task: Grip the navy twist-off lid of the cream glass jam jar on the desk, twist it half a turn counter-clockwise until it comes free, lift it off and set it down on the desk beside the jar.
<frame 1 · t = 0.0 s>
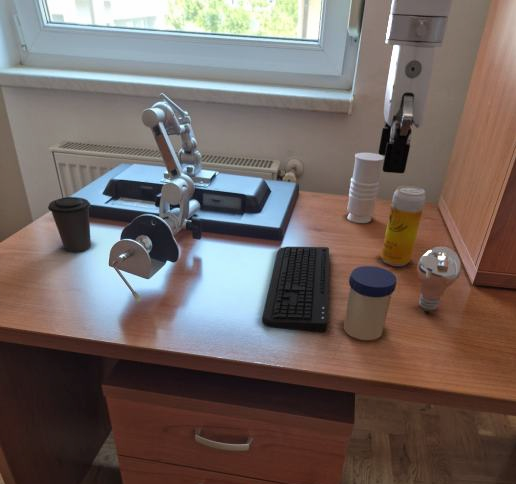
hand: (390, 163, 74), 24 cm above the table, tool pointing down, fingers open, 9 cm apart
keyboard: (298, 286, 90), on the table
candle: (358, 219, 120), on the table
lid: (373, 278, 73), point 9 cm above the table, screwed on, not yet turned
coffee cup: (77, 247, 101), on the table
light bulb: (426, 311, 85), on the table
yellow bottle: (394, 261, 101), on the table
jar: (363, 329, 79), on the table
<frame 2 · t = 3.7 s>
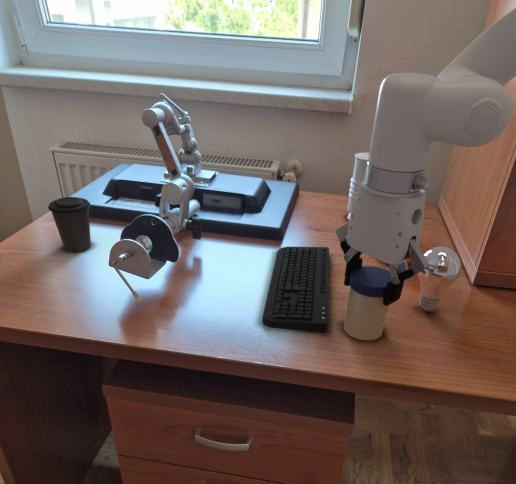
hand: (370, 291, 75), 7 cm above the table, tool pointing down, fingers closed on lid, 7 cm apart
lid: (373, 278, 73), point 9 cm above the table, screwed on, not yet turned, touching gripper
everything else where it was.
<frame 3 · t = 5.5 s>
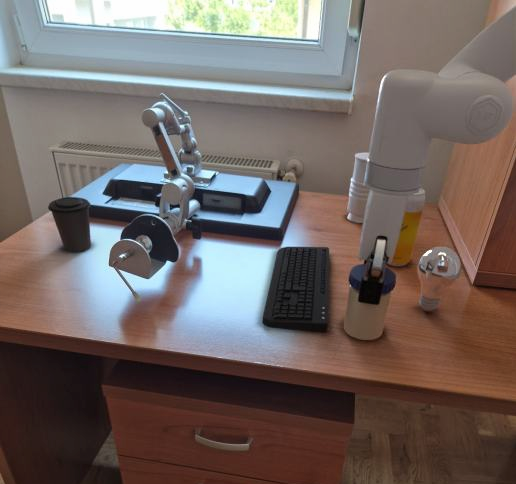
hand: (369, 289, 75), 7 cm above the table, tool pointing down, fingers closed on lid, 7 cm apart
lid: (372, 276, 73), point 10 cm above the table, turned 125° so far, risen 0.4 cm, still on its thread, touching gripper
everything else where it was.
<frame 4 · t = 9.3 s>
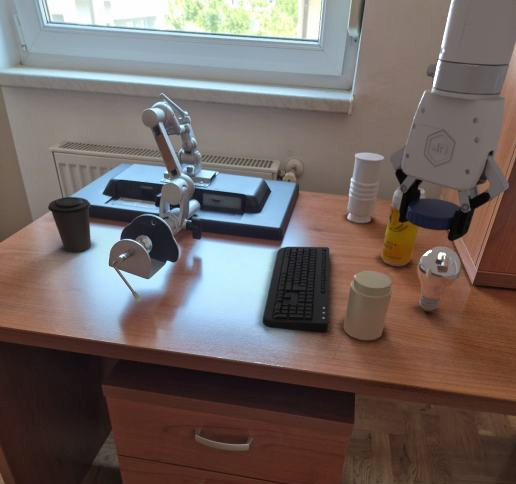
hand: (430, 228, 65), 20 cm above the table, tool pointing down, fingers closed on lid, 7 cm apart
lid: (434, 210, 63), point 22 cm above the table, off its thread, touching gripper
everything else where it was.
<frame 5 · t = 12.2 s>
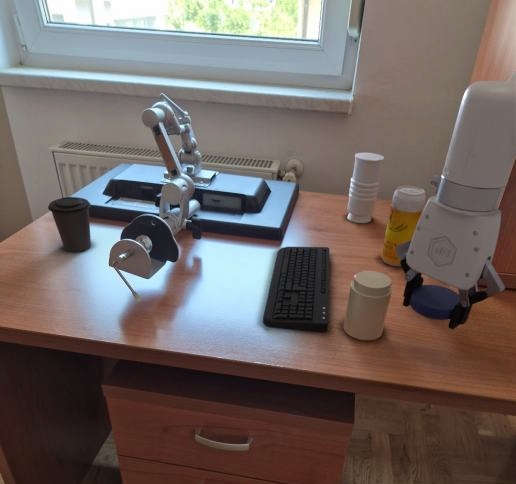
hand: (432, 313, 70), 7 cm above the table, tool pointing down, fingers closed on lid, 7 cm apart
lid: (436, 299, 69), point 10 cm above the table, off its thread, touching gripper
everything else where it was.
when the fingers open (0 cm above the table, at t = 15.1 s): lid drops 1 cm, point 1 cm above the table.
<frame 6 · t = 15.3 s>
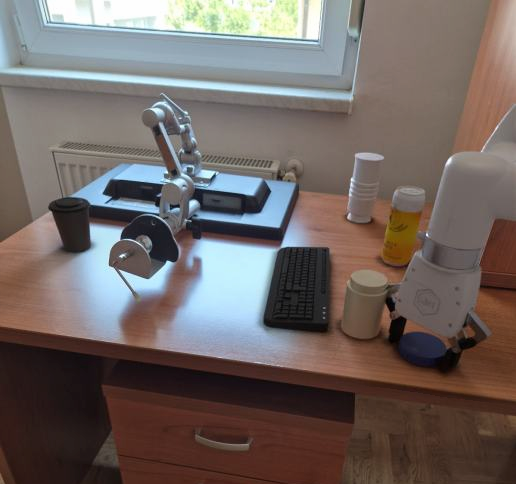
hand: (420, 352, 74), 0 cm above the table, tool pointing down, fingers open, 9 cm apart
lid: (422, 346, 73), point 1 cm above the table, off its thread
jar: (359, 328, 79), on the table, touching gripper
everything else where it was.
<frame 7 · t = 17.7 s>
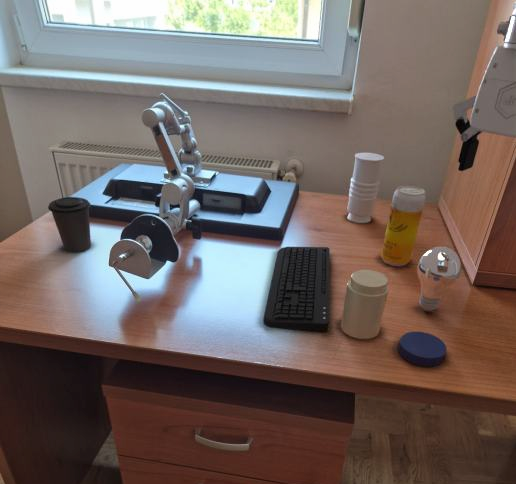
hand: (496, 176, 68), 24 cm above the table, tool pointing down, fingers open, 9 cm apart
jar: (359, 328, 79), on the table
everything else where it was.
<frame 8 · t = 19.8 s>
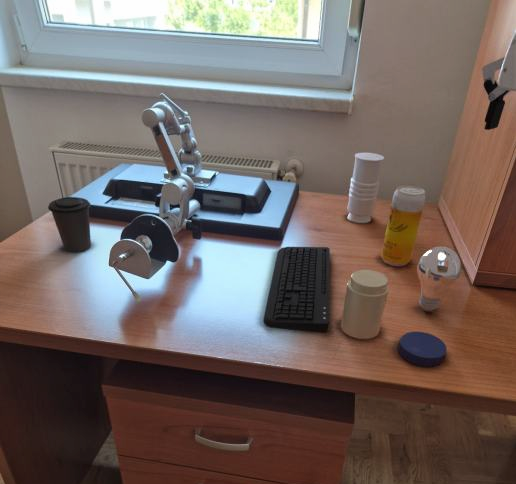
nothing on the table moved.
at the end: lid came off its thread; lid point 1.3 cm above the table; the gripper is holding nothing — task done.
